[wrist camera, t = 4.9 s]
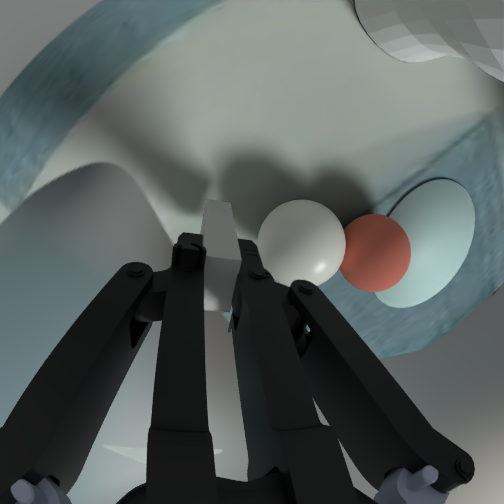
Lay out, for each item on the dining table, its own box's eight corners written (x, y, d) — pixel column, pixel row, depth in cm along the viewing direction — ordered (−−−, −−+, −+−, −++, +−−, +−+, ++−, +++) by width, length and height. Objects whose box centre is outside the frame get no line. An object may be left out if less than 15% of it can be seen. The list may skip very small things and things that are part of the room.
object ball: (364, 187, 19) (407, 218, 14) (395, 232, 21) (434, 267, 17) (311, 238, 20) (340, 281, 16) (349, 276, 23) (378, 319, 18)
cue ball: (324, 199, 13) (340, 185, 18) (229, 221, 16) (267, 202, 20) (346, 301, 14) (356, 262, 19) (257, 307, 17) (286, 271, 22)
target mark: (450, 147, 18) (452, 148, 18) (482, 242, 24) (483, 243, 24) (341, 258, 22) (342, 259, 22) (401, 324, 28) (402, 325, 28)
